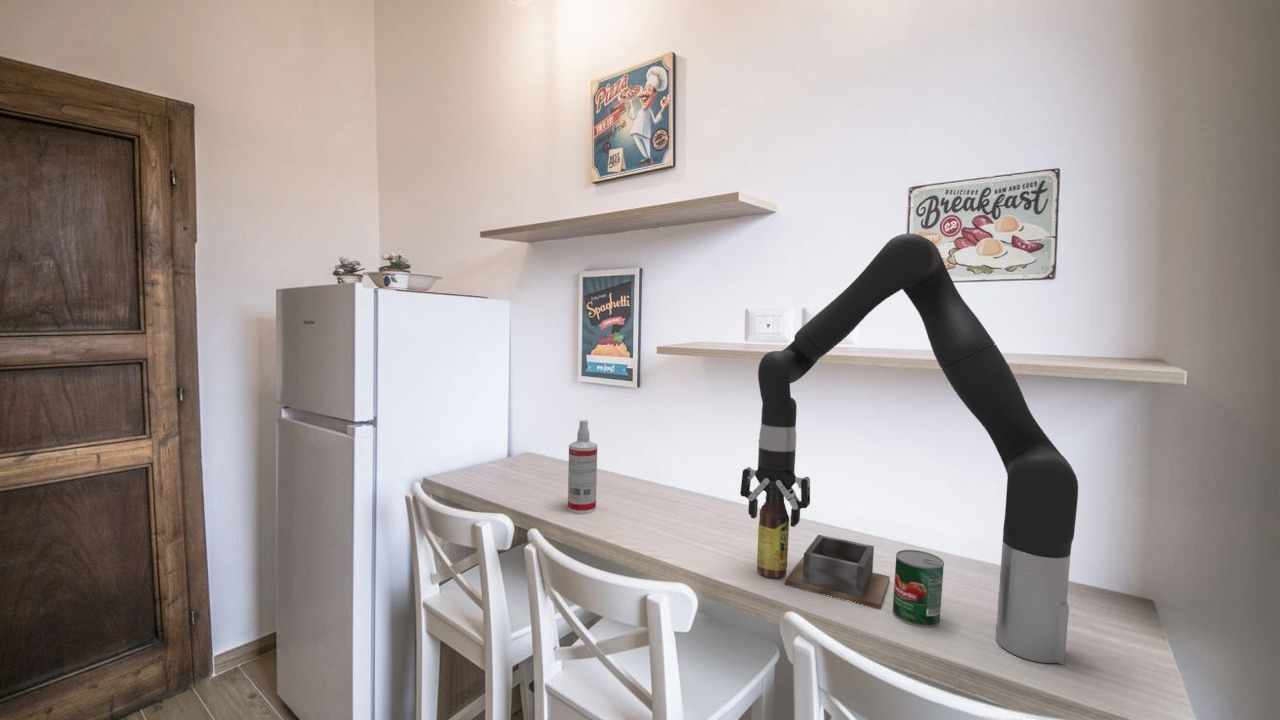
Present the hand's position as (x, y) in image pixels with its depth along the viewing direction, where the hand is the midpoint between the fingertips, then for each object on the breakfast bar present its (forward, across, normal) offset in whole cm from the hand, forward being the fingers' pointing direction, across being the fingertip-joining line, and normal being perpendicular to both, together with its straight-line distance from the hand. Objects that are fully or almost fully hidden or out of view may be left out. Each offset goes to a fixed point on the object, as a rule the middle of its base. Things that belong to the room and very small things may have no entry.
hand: (773, 521), depth 121 cm
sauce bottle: (+11, 0, 0) cm, 11 cm away
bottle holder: (+11, -13, -3) cm, 17 cm away
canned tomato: (+11, -28, +3) cm, 30 cm away
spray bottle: (+12, +57, -10) cm, 59 cm away
